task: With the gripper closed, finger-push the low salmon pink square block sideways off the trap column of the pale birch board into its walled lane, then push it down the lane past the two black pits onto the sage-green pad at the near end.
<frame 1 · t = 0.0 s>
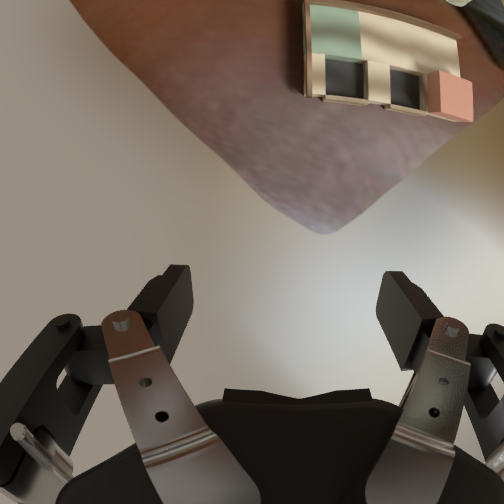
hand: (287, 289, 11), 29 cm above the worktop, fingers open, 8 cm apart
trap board: (386, 62, 30), on the worktop
salmon pink square block: (444, 97, 29), point 2 cm above the worktop, touching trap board
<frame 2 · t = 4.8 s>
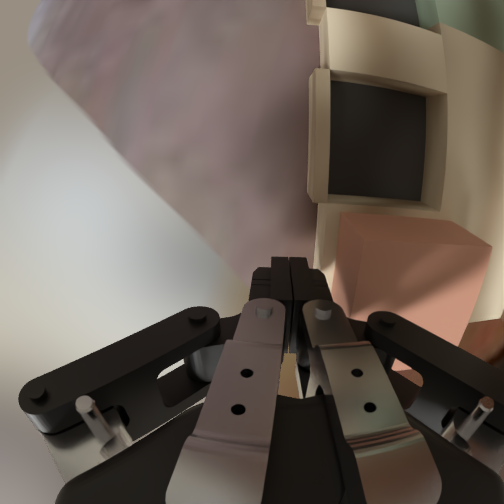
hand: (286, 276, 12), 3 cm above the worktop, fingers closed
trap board: (440, 110, 12), on the worktop
salmon pink square block: (391, 275, 13), point 2 cm above the worktop, touching gripper, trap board
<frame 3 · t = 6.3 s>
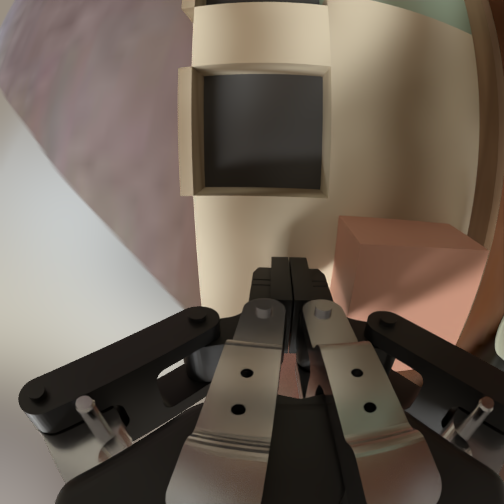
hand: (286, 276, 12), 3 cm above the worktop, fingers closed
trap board: (343, 88, 12), on the worktop
salmon pink square block: (388, 277, 13), point 2 cm above the worktop, touching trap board
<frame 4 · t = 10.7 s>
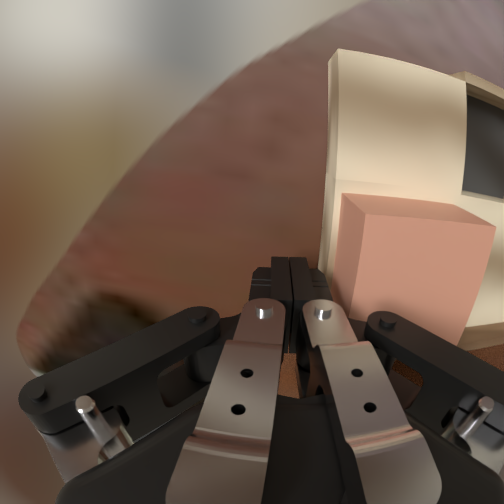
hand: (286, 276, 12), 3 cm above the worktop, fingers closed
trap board: (494, 213, 13), on the worktop
salmon pink square block: (393, 259, 13), point 2 cm above the worktop, touching gripper, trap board
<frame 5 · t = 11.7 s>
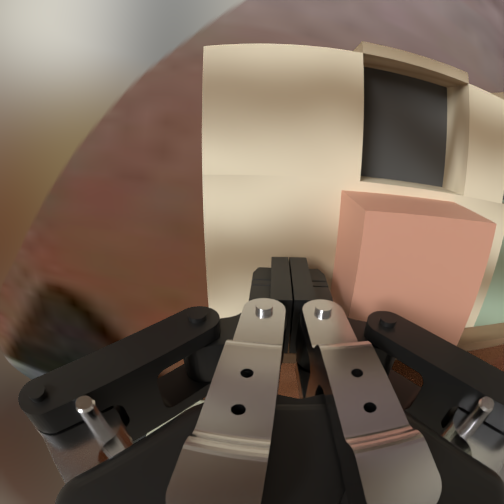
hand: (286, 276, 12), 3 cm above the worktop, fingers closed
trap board: (431, 204, 14), on the worktop
salmon pink square block: (394, 257, 13), point 2 cm above the worktop, touching gripper, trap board
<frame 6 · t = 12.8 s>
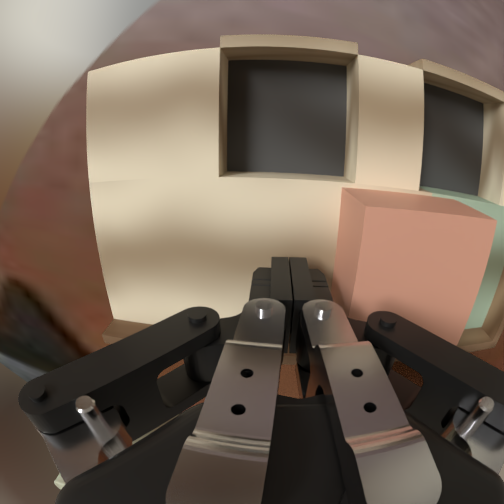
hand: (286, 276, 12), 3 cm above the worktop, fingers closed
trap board: (331, 196, 14), on the worktop
salmon pink square block: (394, 254, 12), point 2 cm above the worktop, touching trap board
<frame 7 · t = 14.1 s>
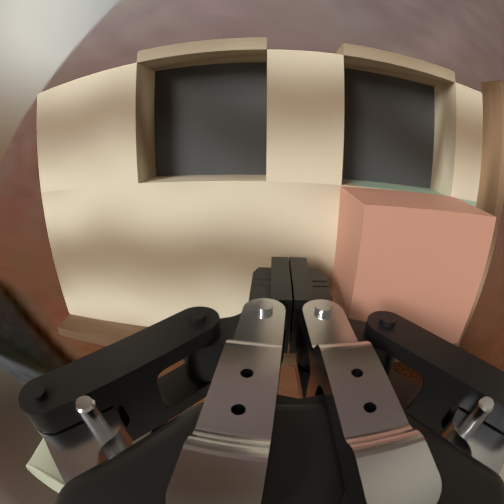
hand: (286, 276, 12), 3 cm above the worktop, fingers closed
can: (112, 407, 24), on the worktop
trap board: (257, 195, 14), on the worktop
salmon pink square block: (394, 253, 12), point 2 cm above the worktop, touching gripper, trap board
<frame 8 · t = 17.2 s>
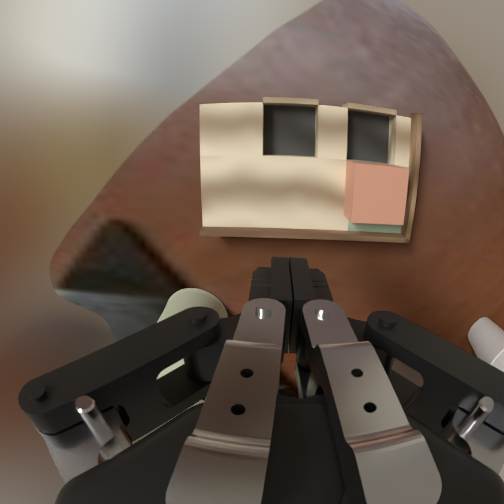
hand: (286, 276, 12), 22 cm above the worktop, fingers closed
can: (197, 314, 41), on the worktop
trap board: (309, 165, 31), on the worktop
dixie cup: (478, 329, 39), on the worktop
salmon pink square block: (370, 189, 29), point 2 cm above the worktop, touching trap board
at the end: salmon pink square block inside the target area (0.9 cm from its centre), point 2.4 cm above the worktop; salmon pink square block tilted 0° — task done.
